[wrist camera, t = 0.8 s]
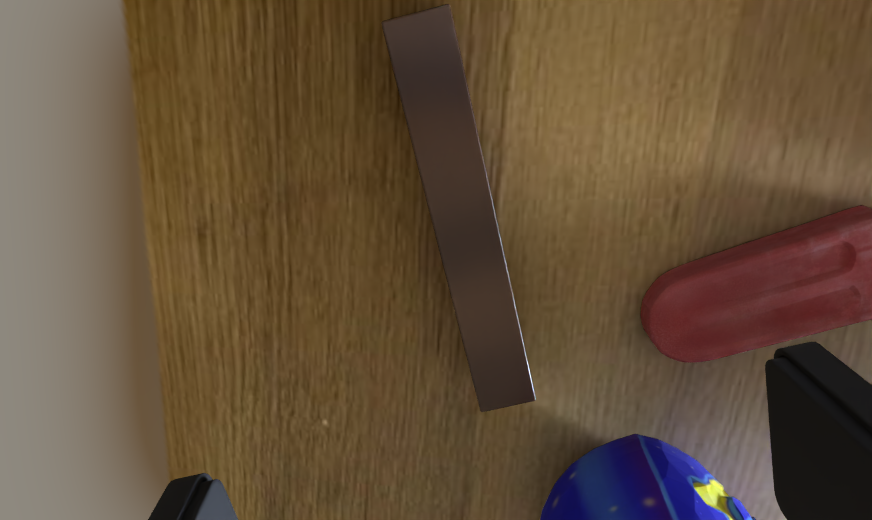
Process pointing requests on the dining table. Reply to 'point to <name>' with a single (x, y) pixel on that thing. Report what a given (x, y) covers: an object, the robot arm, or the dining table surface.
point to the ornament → (639, 486)
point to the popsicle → (765, 290)
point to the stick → (460, 202)
